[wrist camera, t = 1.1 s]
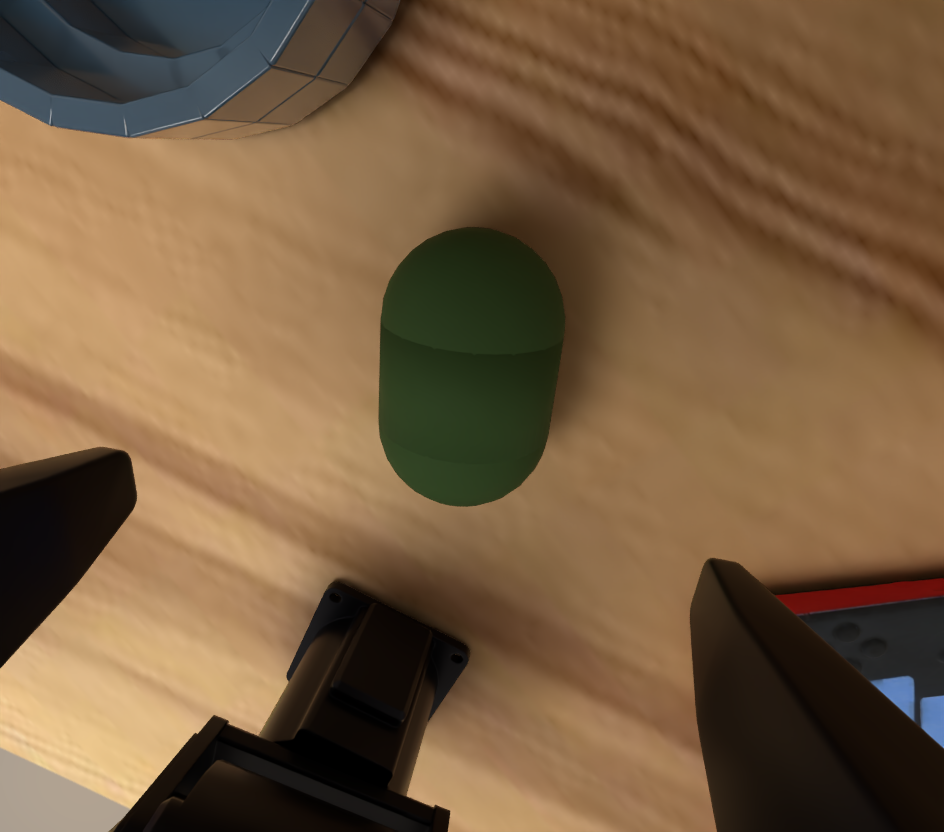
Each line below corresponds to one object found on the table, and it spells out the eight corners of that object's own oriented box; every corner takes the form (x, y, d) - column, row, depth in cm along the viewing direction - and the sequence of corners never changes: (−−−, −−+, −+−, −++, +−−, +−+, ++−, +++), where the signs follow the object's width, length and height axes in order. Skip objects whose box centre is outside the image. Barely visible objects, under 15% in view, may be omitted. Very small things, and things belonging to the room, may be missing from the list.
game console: (1078, 851, 23) (1124, 918, 21) (729, 843, 27) (740, 900, 25) (1123, 549, 18) (1189, 599, 16) (684, 588, 22) (693, 634, 20)
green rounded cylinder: (542, 466, 21) (528, 556, 16) (403, 443, 21) (352, 523, 17) (581, 227, 17) (577, 257, 13) (413, 208, 18) (352, 229, 13)
